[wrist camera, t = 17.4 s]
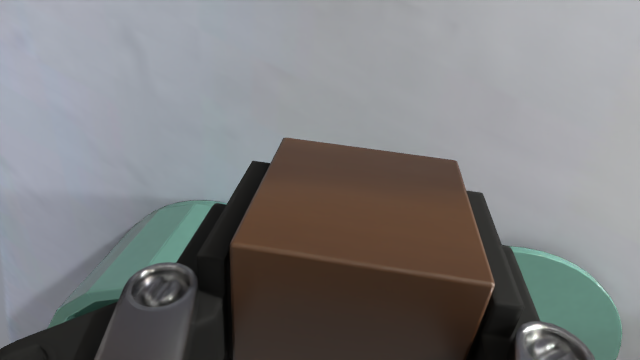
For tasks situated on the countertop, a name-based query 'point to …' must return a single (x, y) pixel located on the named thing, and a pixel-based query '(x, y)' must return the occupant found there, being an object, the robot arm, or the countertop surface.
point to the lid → (571, 301)
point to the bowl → (136, 256)
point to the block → (357, 259)
